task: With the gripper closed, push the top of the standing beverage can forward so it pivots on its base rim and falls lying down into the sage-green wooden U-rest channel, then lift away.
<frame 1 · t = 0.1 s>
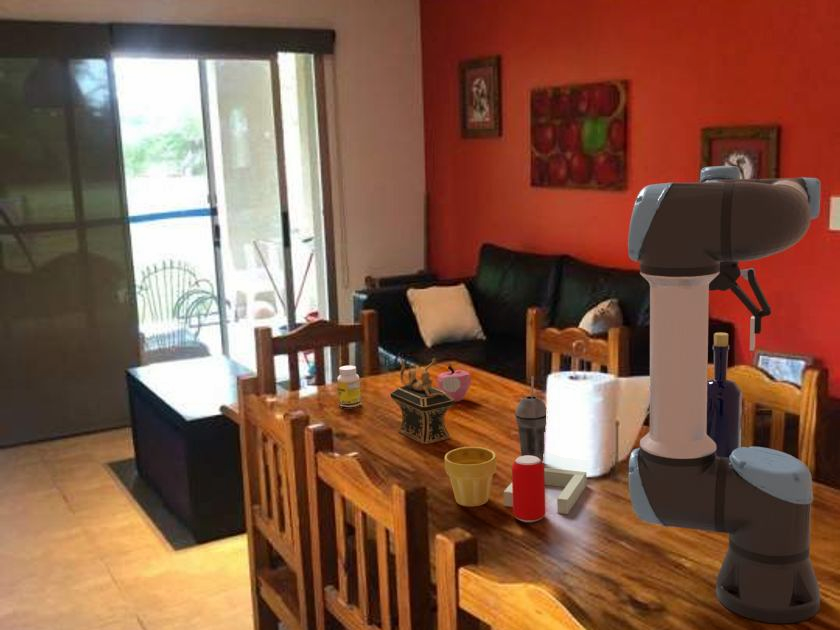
hand: (717, 347, 184), 28 cm above the table, fingers open, 13 cm apart
beverage can: (529, 519, 173), on the table
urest: (544, 498, 182), on the table
decorative box: (420, 434, 226), on the table
plant pot: (471, 501, 183), on the table
apple: (455, 401, 252), on the table
pill bottle: (350, 406, 252), on the table
beverage cup: (532, 464, 202), on the table
bottle: (718, 470, 193), on the table
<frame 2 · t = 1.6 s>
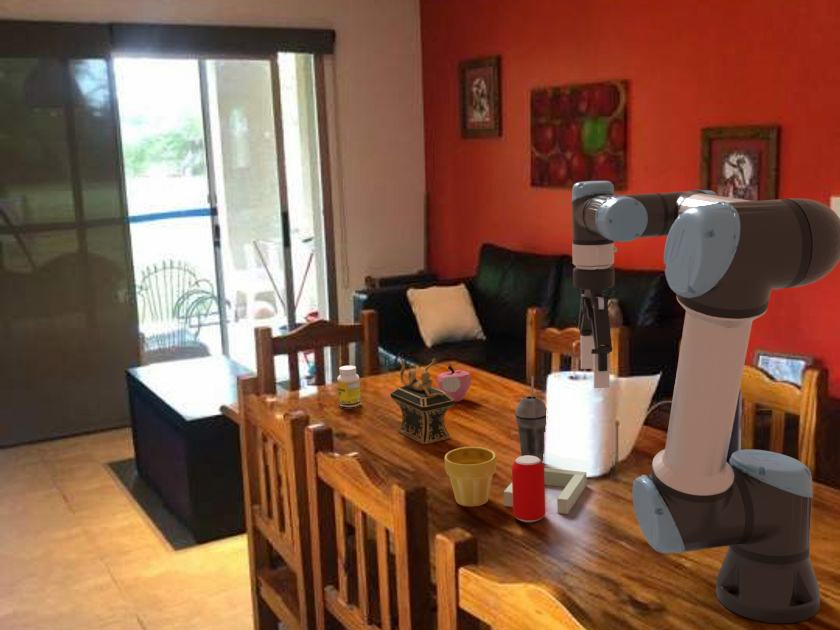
hand: (594, 377, 169), 27 cm above the table, fingers open, 13 cm apart
nothing on the table moved.
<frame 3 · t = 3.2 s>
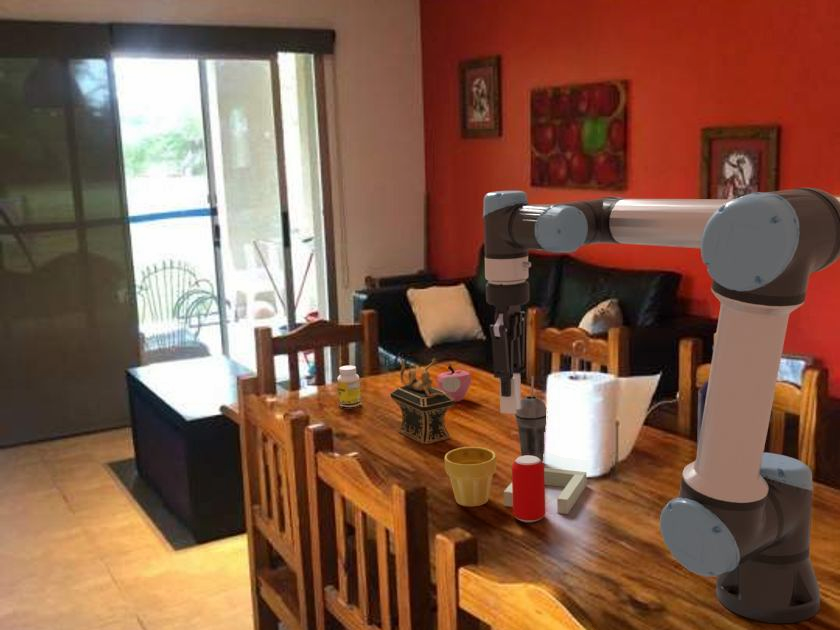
hand: (510, 410, 161), 24 cm above the table, fingers open, 2 cm apart
nothing on the table moved.
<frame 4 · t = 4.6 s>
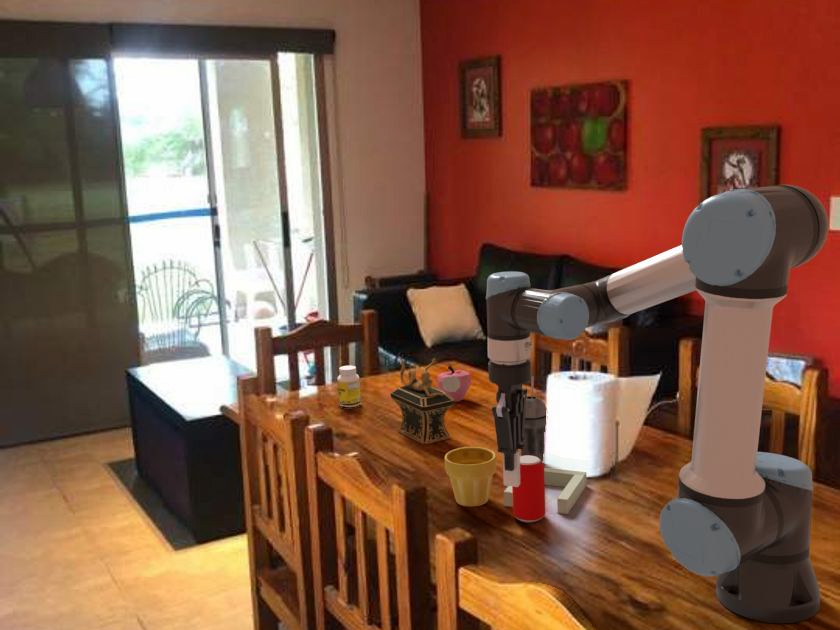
hand: (511, 484, 164), 10 cm above the table, fingers closed
nothing on the table moved.
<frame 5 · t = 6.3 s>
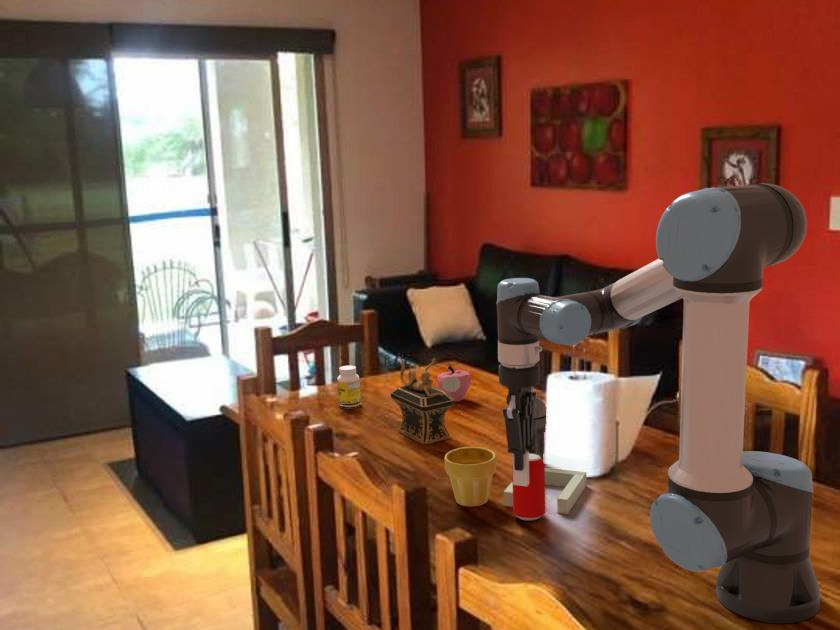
hand: (521, 484, 169), 8 cm above the table, fingers closed
beverage can: (529, 518, 173), on the table, touching gripper
everything else where it was.
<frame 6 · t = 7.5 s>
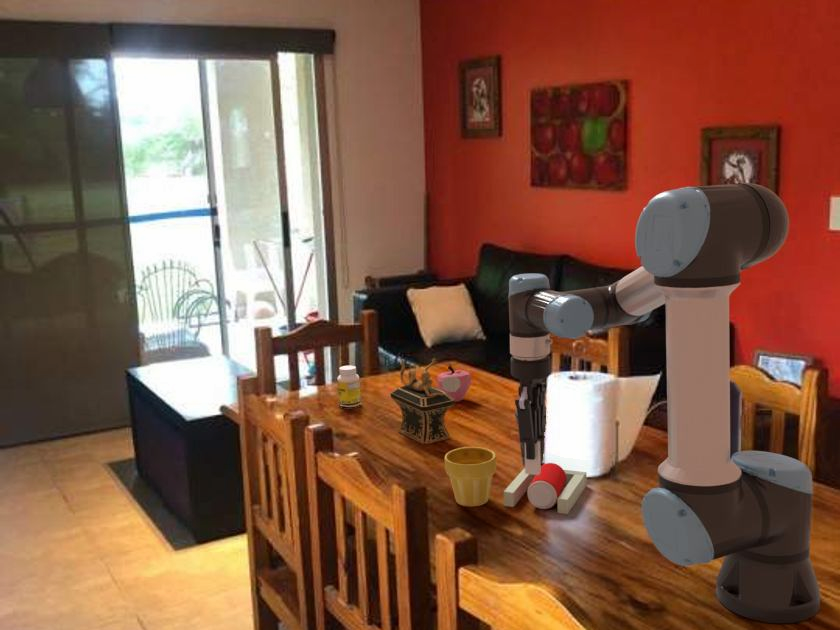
hand: (533, 472, 175), 8 cm above the table, fingers closed
beverage can: (541, 497, 175), point 3 cm above the table
everything else where it was.
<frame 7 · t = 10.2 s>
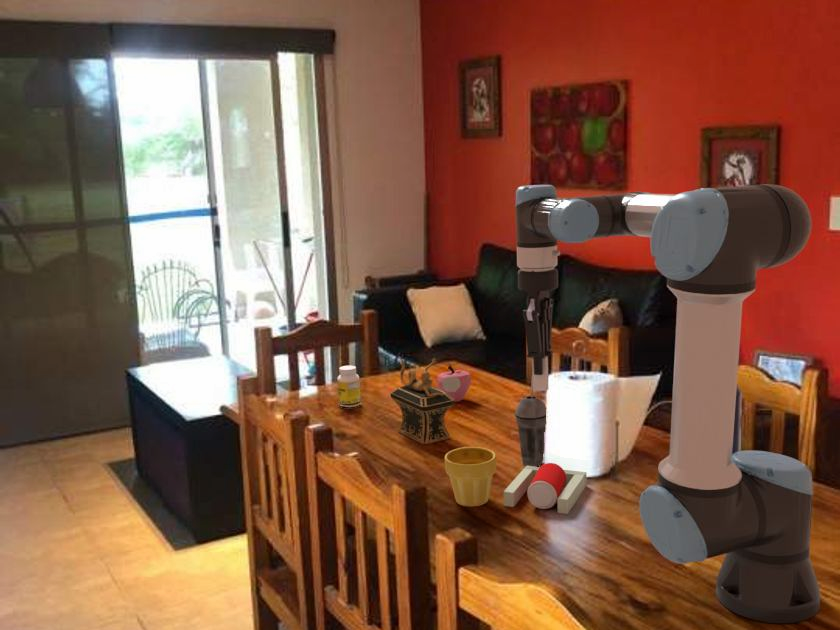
hand: (540, 389, 173), 24 cm above the table, fingers closed
nothing on the table moved.
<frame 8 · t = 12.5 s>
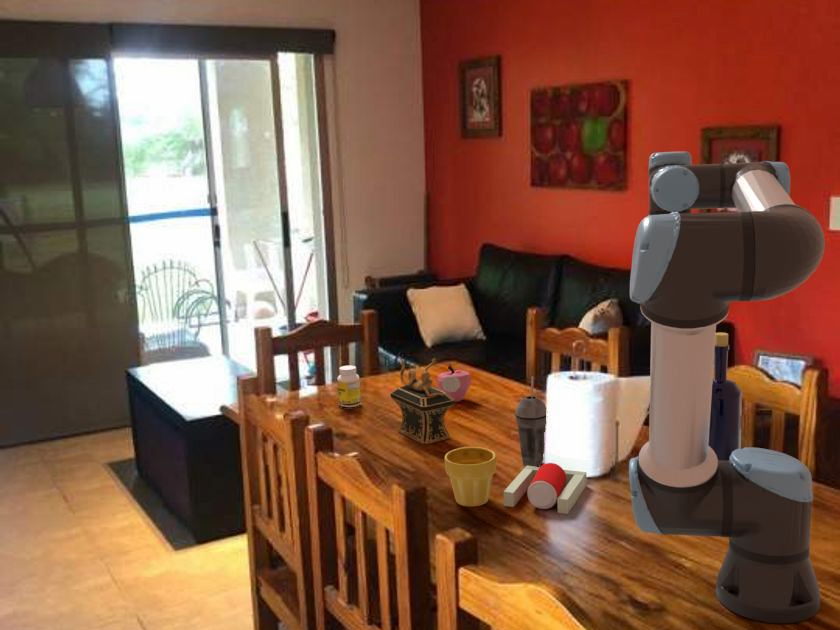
hand: (668, 361, 169), 29 cm above the table, fingers closed
nothing on the table moved.
at the end: beverage can tilted 90°; beverage can inside the target area on the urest (3.2 cm from its centre), point 3.0 cm above the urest's base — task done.
